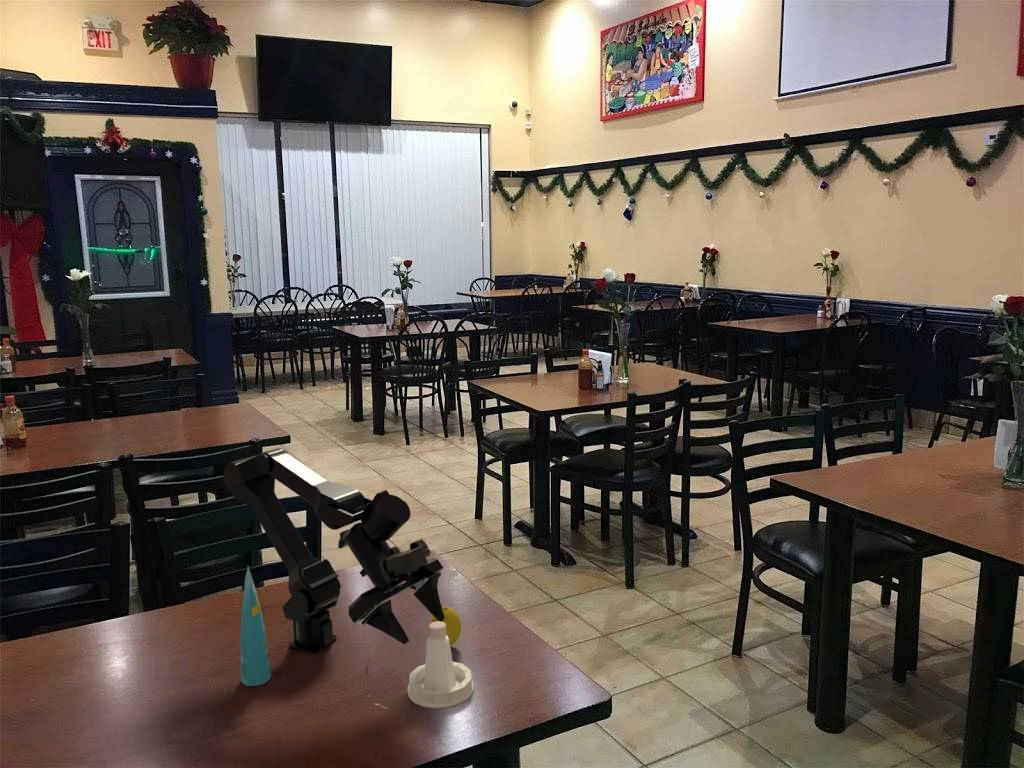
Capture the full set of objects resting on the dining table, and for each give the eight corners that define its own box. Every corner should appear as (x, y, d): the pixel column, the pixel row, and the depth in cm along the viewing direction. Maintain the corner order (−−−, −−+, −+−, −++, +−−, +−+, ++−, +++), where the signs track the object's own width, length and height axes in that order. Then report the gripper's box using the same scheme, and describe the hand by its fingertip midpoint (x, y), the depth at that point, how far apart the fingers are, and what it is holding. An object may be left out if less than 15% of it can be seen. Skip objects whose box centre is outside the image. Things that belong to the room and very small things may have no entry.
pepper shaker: (420, 694, 132) (417, 631, 130) (427, 676, 138) (424, 616, 136) (453, 695, 132) (451, 632, 130) (458, 678, 137) (456, 617, 135)
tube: (274, 686, 137) (266, 579, 133) (244, 693, 135) (235, 584, 131) (267, 665, 143) (259, 563, 140) (238, 672, 141) (230, 568, 138)
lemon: (457, 656, 145) (455, 614, 144) (427, 653, 147) (425, 612, 145) (464, 641, 151) (463, 601, 149) (436, 639, 152) (434, 599, 150)
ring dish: (394, 700, 132) (394, 686, 131) (428, 667, 142) (428, 654, 141) (454, 714, 127) (454, 700, 127) (485, 680, 137) (484, 667, 137)
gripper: (358, 547, 127) (413, 631, 123) (434, 513, 142) (485, 587, 138) (325, 582, 133) (377, 664, 128) (401, 546, 148) (450, 618, 144)
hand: (425, 631), depth 135 cm, fingers open, 9 cm apart
